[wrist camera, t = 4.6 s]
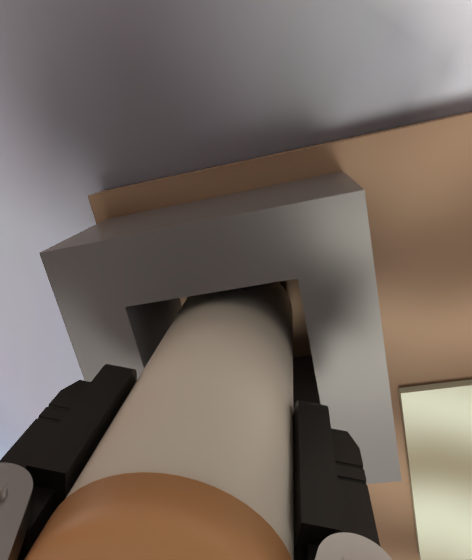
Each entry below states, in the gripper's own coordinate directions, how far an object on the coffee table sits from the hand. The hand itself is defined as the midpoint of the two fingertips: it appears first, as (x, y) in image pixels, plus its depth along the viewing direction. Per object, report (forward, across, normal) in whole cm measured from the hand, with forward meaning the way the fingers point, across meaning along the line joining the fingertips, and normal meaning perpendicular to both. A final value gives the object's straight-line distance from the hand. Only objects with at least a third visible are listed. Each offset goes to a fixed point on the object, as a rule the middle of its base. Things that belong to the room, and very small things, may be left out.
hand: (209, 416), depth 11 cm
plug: (+6, 0, 0) cm, 6 cm away
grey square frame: (+7, 0, 0) cm, 7 cm away
